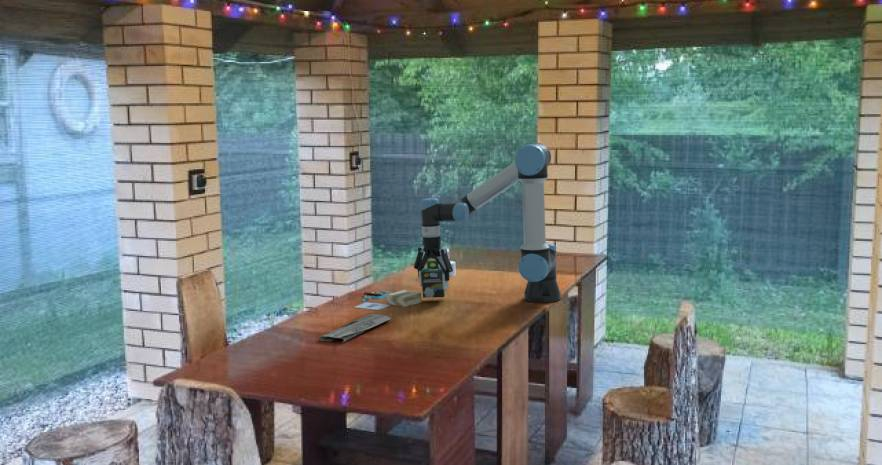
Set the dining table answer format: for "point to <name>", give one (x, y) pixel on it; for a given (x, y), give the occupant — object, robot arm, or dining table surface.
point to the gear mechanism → (374, 295)
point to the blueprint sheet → (372, 306)
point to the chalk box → (432, 281)
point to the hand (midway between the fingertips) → (434, 287)
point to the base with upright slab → (451, 265)
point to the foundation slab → (404, 298)
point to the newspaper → (355, 327)
